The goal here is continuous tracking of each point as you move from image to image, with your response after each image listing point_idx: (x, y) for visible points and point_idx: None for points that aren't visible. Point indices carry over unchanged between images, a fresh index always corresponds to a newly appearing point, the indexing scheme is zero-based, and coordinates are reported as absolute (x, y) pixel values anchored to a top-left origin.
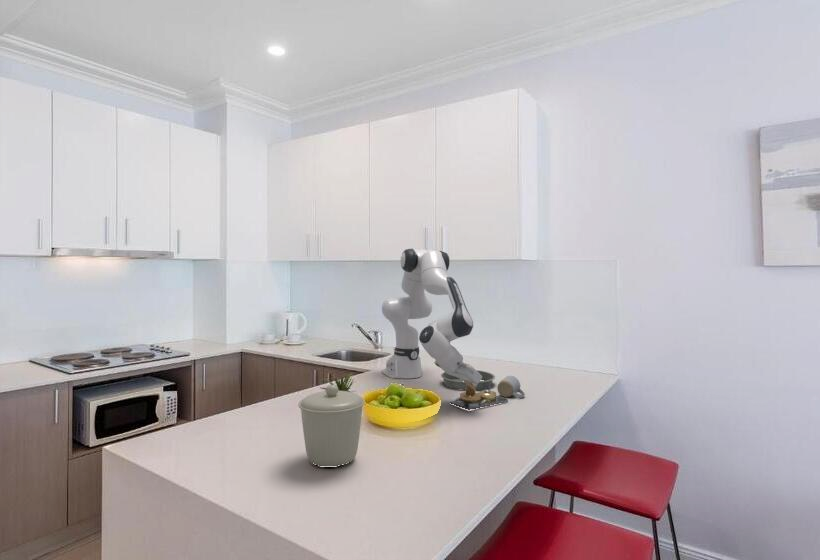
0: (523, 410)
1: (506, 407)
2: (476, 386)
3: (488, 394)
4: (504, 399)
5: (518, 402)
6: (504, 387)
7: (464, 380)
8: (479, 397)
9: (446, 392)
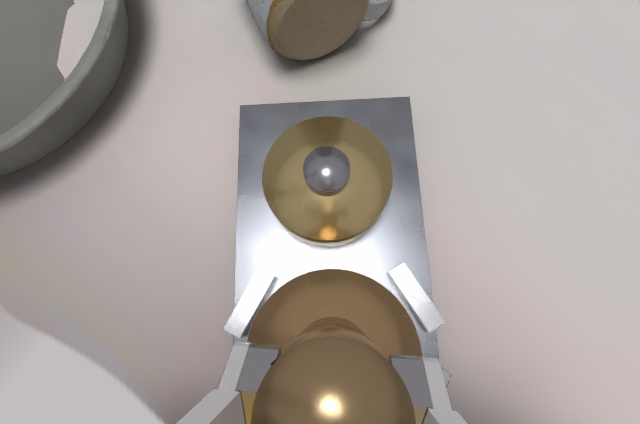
0: (572, 139)
1: (480, 178)
2: (99, 77)
3: (369, 199)
4: (399, 113)
5: (434, 61)
6: (320, 13)
7: (246, 419)
8: (412, 326)
9: (12, 276)
